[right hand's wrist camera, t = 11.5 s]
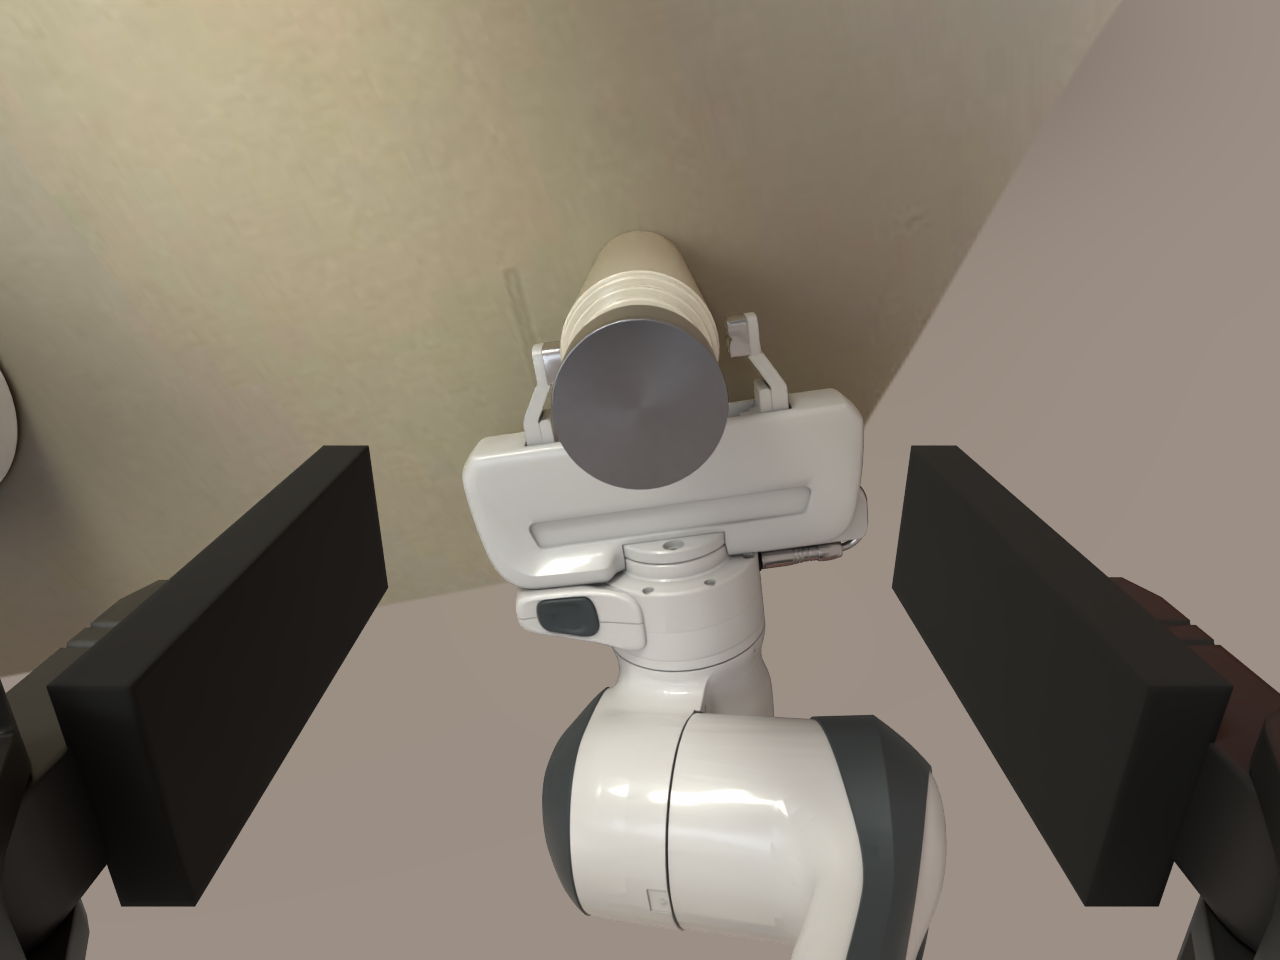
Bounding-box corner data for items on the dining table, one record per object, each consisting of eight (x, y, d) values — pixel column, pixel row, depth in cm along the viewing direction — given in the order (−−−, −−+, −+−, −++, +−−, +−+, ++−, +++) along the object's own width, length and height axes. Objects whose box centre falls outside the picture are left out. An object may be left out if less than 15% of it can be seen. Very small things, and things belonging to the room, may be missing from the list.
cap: (608, 486, 23) (605, 517, 21) (529, 352, 21) (517, 372, 19) (747, 417, 22) (758, 442, 20) (674, 273, 21) (678, 284, 19)
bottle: (620, 346, 44) (600, 529, 21) (573, 260, 42) (498, 362, 20) (704, 301, 43) (776, 443, 20) (660, 211, 41) (685, 260, 19)
